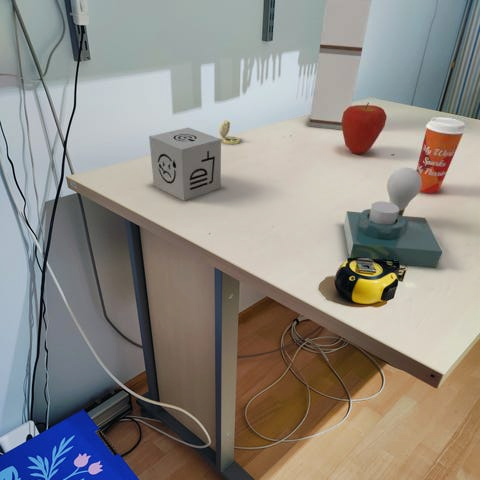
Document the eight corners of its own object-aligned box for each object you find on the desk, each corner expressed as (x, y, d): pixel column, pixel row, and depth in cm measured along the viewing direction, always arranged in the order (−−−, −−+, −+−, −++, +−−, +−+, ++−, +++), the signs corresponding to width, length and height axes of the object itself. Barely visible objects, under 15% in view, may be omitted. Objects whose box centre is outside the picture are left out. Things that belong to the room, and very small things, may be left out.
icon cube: (220, 188, 90) (221, 139, 83) (183, 200, 84) (181, 149, 78) (190, 174, 95) (188, 127, 89) (153, 185, 89) (149, 136, 83)
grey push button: (392, 215, 72) (396, 202, 71) (397, 227, 69) (401, 214, 67) (366, 213, 72) (370, 200, 71) (370, 225, 69) (373, 211, 68)
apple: (357, 143, 118) (367, 95, 110) (386, 155, 111) (399, 105, 103) (327, 149, 113) (336, 99, 105) (356, 161, 106) (367, 109, 98)
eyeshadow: (234, 145, 112) (234, 125, 109) (218, 141, 114) (218, 122, 111) (242, 141, 115) (243, 121, 112) (226, 137, 117) (226, 118, 114)
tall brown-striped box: (347, 121, 135) (374, -19, 113) (346, 130, 127) (375, -18, 105) (312, 117, 137) (331, -21, 115) (309, 126, 129) (329, -21, 107)
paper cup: (405, 190, 93) (425, 122, 84) (410, 179, 98) (430, 114, 89) (442, 198, 90) (467, 129, 81) (445, 186, 96) (469, 120, 87)
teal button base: (420, 232, 78) (428, 207, 74) (436, 267, 68) (447, 240, 65) (343, 226, 78) (349, 200, 75) (349, 259, 69) (355, 232, 66)
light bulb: (405, 230, 78) (422, 177, 72) (374, 222, 80) (388, 169, 74) (412, 218, 82) (429, 167, 76) (382, 210, 84) (396, 160, 78)
